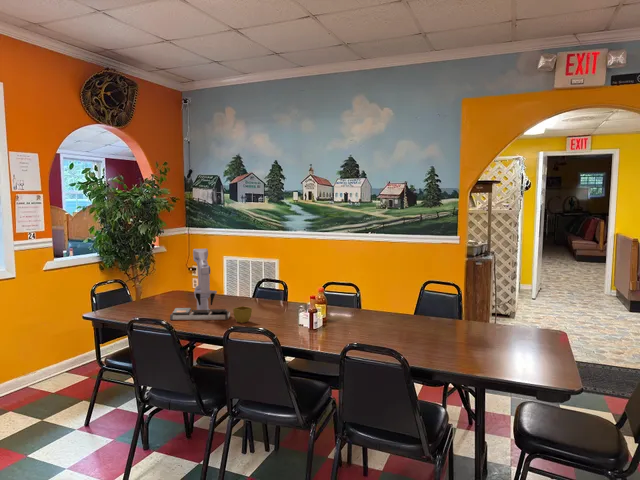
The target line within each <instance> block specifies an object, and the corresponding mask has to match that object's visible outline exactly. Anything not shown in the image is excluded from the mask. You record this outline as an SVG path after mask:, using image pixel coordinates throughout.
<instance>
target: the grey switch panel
mask: <svg viewBox="0 0 640 480" xmlns="http://www.w3.org/2000/svg"><path fill="white" fill-rule="evenodd" d="M169 315H170V316H169V320H170V321H209V320H210V321H211V320H212V321H214V320H218V321H219V320H225V321H226V320H229V318H230V316H231V311H230V310H229V311H228V310H227V312H211V311H209V312H201V313H194V312H192V311H190V312H189V314H173V312H172V313H171V314H169Z"/></svg>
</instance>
